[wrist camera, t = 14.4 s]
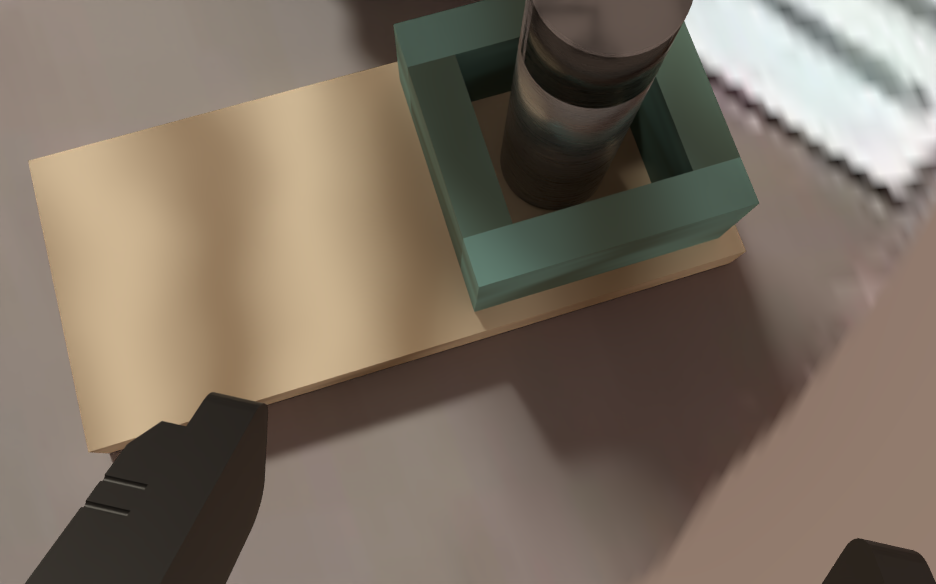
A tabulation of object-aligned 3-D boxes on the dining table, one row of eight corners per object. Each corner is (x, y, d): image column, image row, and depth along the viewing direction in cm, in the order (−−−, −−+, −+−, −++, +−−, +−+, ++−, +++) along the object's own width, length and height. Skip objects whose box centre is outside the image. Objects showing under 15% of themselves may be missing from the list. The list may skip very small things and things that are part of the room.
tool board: (108, 453, 26) (30, 448, 21) (50, 177, 28) (-34, 114, 23) (730, 262, 28) (790, 218, 23) (633, 18, 30) (669, -70, 25)
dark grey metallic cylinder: (519, 223, 26) (561, 71, 17) (486, 127, 27) (508, -71, 17) (620, 193, 27) (719, 27, 17) (585, 99, 28) (660, -110, 18)
